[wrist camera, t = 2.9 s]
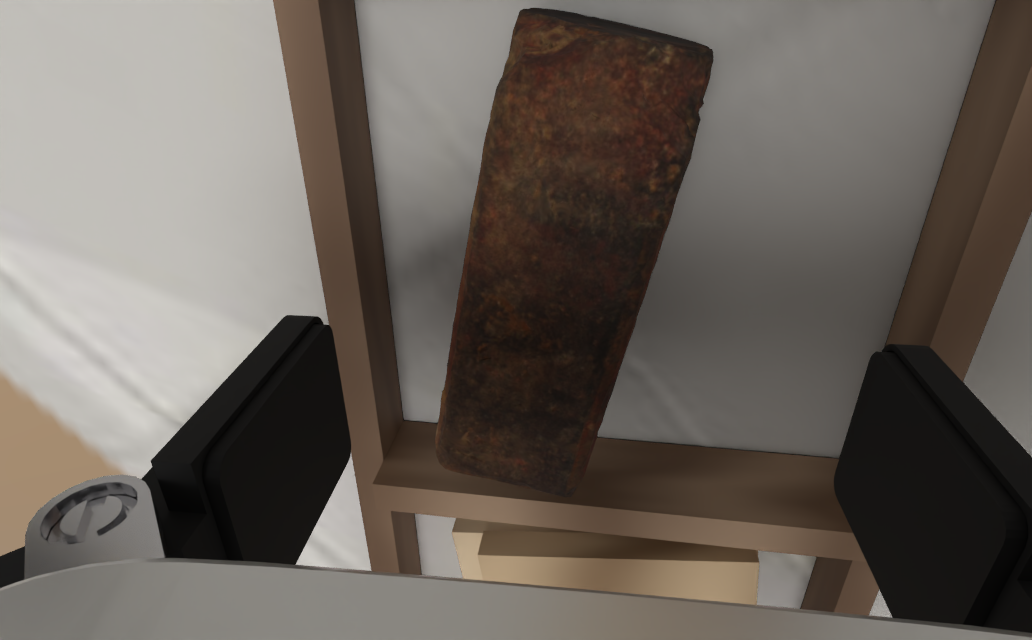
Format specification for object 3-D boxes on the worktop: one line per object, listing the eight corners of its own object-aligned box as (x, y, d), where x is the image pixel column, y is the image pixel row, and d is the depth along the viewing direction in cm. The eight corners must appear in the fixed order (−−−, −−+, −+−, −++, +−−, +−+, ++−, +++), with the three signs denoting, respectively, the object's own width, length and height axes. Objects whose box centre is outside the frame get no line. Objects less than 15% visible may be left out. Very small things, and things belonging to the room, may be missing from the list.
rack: (1081, -91, 12) (1206, -110, 10) (814, 657, 23) (838, 742, 21) (302, -75, 14) (231, -87, 12) (401, 605, 26) (376, 676, 23)
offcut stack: (755, 486, 21) (773, 560, 18) (748, 590, 23) (764, 669, 20) (461, 485, 22) (440, 551, 20) (482, 581, 25) (466, 652, 22)
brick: (588, 401, 20) (580, 511, 16) (465, 370, 20) (425, 472, 16) (702, 37, 14) (735, 61, 10) (534, -1, 15) (500, 7, 10)
